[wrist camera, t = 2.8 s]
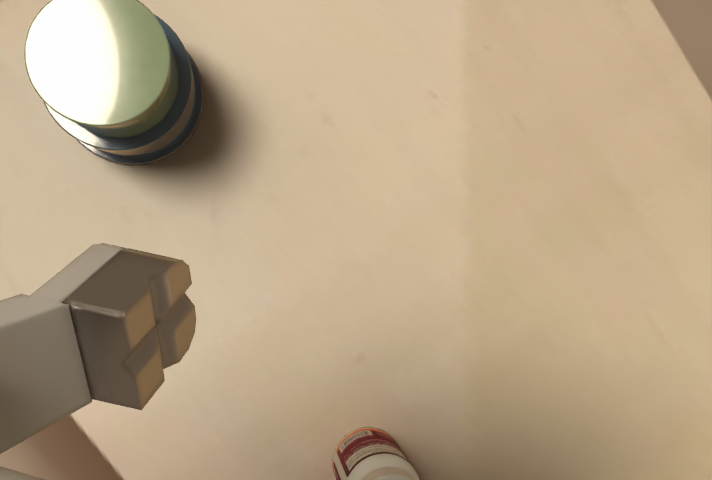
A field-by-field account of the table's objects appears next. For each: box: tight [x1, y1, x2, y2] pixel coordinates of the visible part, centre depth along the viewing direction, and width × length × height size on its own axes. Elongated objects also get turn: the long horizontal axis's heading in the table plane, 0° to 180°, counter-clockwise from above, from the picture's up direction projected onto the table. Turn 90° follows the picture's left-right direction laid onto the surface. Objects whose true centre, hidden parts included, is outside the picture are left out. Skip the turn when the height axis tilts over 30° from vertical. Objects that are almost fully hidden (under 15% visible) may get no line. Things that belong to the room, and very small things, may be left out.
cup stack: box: [25, 0, 203, 165], centre depth 38 cm, size 9×9×10 cm
